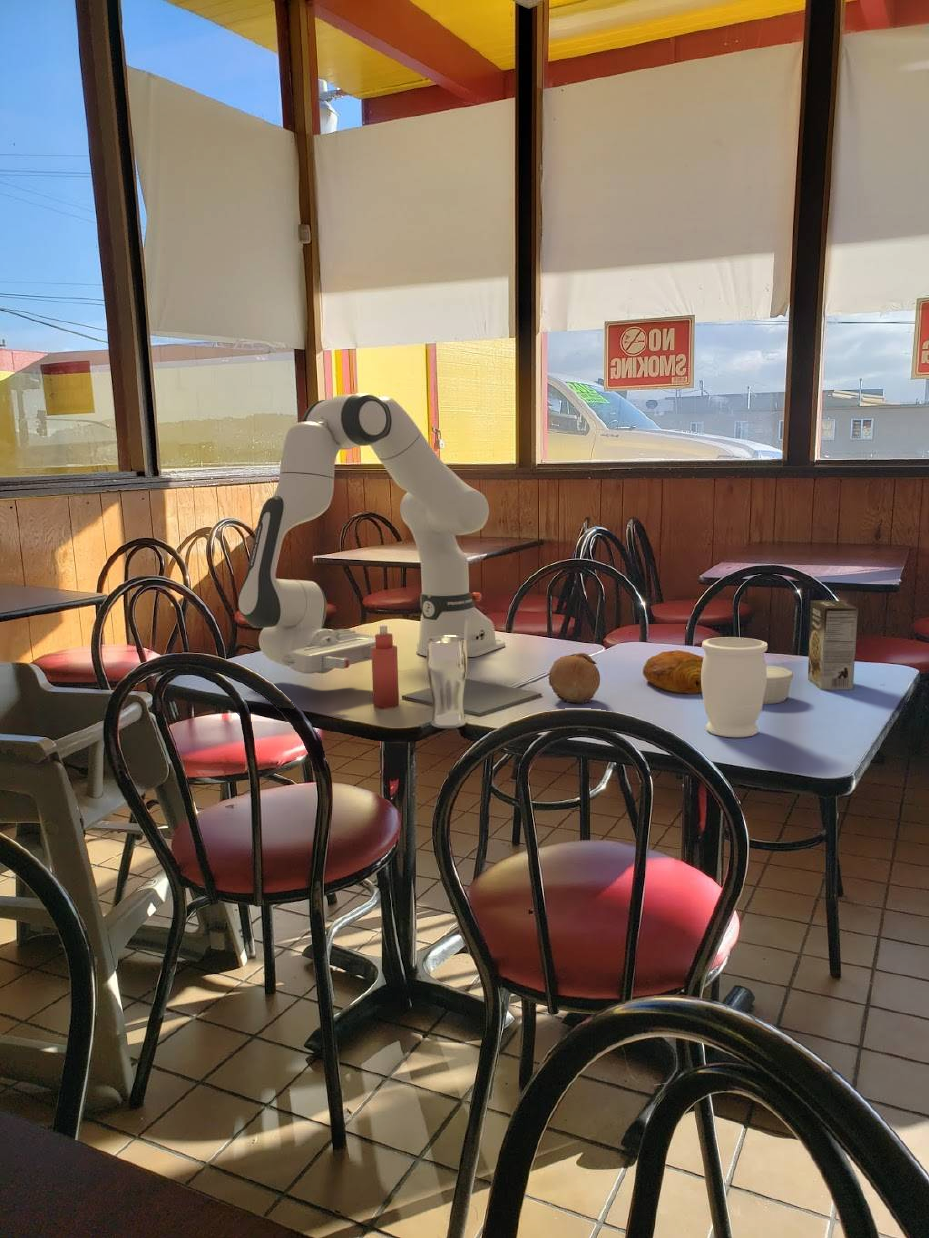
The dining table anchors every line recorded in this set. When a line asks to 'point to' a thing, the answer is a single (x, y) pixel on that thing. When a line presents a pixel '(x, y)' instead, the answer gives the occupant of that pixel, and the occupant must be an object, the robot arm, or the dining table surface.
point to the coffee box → (832, 644)
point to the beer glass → (447, 679)
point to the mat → (481, 697)
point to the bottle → (385, 671)
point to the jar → (733, 684)
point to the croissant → (675, 671)
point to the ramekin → (777, 684)
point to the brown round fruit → (574, 678)
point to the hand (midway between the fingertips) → (365, 659)
